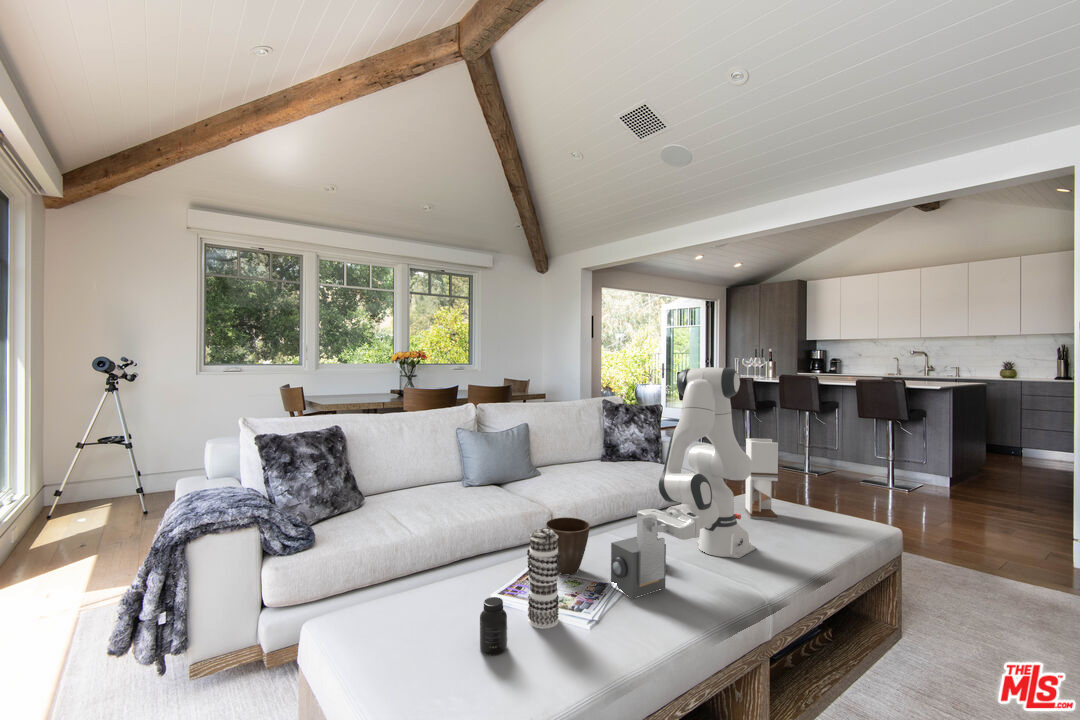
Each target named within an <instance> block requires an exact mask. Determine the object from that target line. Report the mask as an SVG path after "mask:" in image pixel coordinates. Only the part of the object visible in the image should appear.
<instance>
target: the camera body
mask: <svg viewBox="0 0 1080 720" xmlns="http://www.w3.org/2000/svg"><path fill="white" fill-rule="evenodd" d="M638 545H639V544H638V543H637V536H633V537H629V538H624V539H621V540H617V541H613V542H610V546H611V547H610V548H611V549H610V583H611V582H614V583H617V586H618V588H619V589H621V590H622V591H623V592H624V593H625V594H626V595H628V596H629V597H628V596H627V597H628V598H630V597H631V598H633V599H636V598H635V597H637V596H640V597H642V596H641V595H643V596H645V595H644V594H646V595H648V594H647V593H649V594H651V593H650V592H652V593H654V592H653V591H655V592H657V591H656V590H658V591H660V590H659V589H661V590H664V589H663V588H665V589H666V579H667V577H666V569H667V568H666V565H667V564H666V563H667V562H666V560H667V557H666V555H667V554H666V553H667V544H666V543H665V551H664V578H662V579H659V580H655V581H652V582H649V583H646V584H642V585H639V584H638ZM625 594H624V595H625ZM626 595H625V596H626ZM631 598H630V599H631ZM637 598H638V597H637Z"/></svg>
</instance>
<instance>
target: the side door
mask: <svg viewBox="0 0 1080 720" xmlns="http://www.w3.org/2000/svg"><path fill="white" fill-rule="evenodd" d="M636 524H637V525H636V537H637V543H638V544H639V545H638V584H639V585H642V584H646V583H649V582H652V581H655V580H659V579H662V578H664V551H665V544H666V543H665V537H659V538H658V536H657V533H658V532H655V533H653V532H650V531H649V529H650V528H649V527H650V526H652V525H655V526H656V525H657V515H654V514H648V515H643V516H638V517H637V516H636ZM657 538H658V539H657Z"/></svg>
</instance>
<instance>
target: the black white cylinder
mask: <svg viewBox="0 0 1080 720" xmlns="http://www.w3.org/2000/svg"><path fill="white" fill-rule="evenodd" d="M528 537H529V539H530V544H529V549H527V553H526V555H527V556H528V557H527V568H528V571H527V575H528V581H529V593H528V597H527V598H528V602H527V604H528V608H527V612H528V613H527V617H528V619H527V620H528V621H527V622H528V624H529V625H530V626H532V627H533V628H537V629H541V630H542V629H543V630H544V629H545V630H546V629H550V628H551V629H552V628H553V627H555V626H557V625H558V623H559V600H560V599H559V594H558V590H559V589H558V581H559V580H560V579H559V575H560V573H559V571H558V569H559V568H560V567H559V565H558V564H557V563H558V562H560V558H559V556H560V552H558V546H557V538H558V535H557V534H555V532H554V531H553V530H551V529H548V528H546V527H540V528H536V529H534V530H533V531H532V533H530V534H529V535H528Z"/></svg>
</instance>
